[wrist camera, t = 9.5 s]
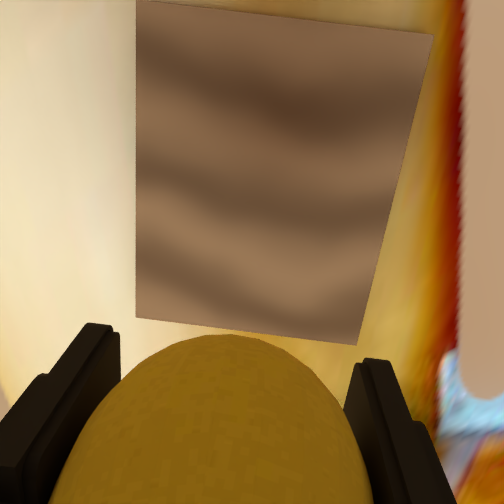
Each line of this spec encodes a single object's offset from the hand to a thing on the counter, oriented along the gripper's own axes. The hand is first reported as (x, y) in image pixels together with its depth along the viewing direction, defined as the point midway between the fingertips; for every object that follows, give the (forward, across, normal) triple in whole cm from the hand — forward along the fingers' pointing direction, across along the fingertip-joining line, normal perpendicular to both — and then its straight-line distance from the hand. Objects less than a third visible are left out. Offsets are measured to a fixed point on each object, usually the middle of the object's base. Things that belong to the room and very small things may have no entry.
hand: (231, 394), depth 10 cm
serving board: (+19, 0, 0) cm, 19 cm away
